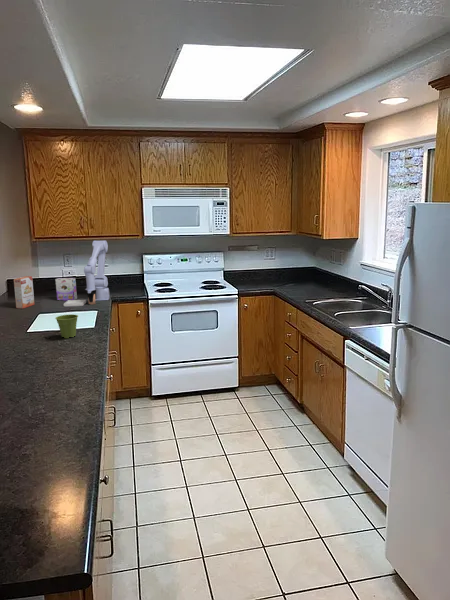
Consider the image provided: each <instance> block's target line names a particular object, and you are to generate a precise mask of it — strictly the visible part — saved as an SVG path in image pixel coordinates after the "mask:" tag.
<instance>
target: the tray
mask: <svg viewBox="0 0 450 600" xmlns="http://www.w3.org/2000/svg"><path fill="white" fill-rule="evenodd" d="M86 303H87V299H76V300H68V301H65V302H64V303H63V307H83V306H84V305H85V304H86Z"/></svg>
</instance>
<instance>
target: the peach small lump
mask: <svg viewBox="0 0 450 600" xmlns="http://www.w3.org/2000/svg"><path fill="white" fill-rule="evenodd" d="M87 299H88V300H87V301H88V305H89V304H90V305H92V306H94V305H96V304H97V302H96V293H95V294H94V296H93V302H89V298H88V297H87Z"/></svg>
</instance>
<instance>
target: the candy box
mask: <svg viewBox="0 0 450 600" xmlns="http://www.w3.org/2000/svg"><path fill="white" fill-rule="evenodd" d="M54 282H55V283H54V285H55V291H56V301H57V300H60V301H65V302H66V301H68V300H78V295H77V282H76V277H63V278H62V277H58V278H55V279H54Z"/></svg>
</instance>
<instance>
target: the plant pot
mask: <svg viewBox="0 0 450 600" xmlns="http://www.w3.org/2000/svg"><path fill="white" fill-rule="evenodd" d="M78 317H79V315H78V314H63V315H58V316H55V318H54V319H55V320H56V322H57V324H58V328H59V332H60V335H61V338H62V337H64V338H63V339H70V338H69V337H73V338H74V336H75V337H76V336H77V335H76V334H77V325H78V324H77V323H78Z"/></svg>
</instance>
